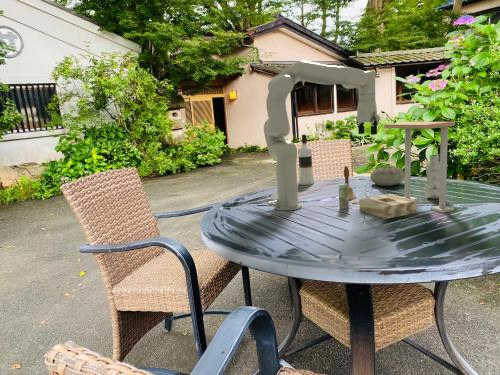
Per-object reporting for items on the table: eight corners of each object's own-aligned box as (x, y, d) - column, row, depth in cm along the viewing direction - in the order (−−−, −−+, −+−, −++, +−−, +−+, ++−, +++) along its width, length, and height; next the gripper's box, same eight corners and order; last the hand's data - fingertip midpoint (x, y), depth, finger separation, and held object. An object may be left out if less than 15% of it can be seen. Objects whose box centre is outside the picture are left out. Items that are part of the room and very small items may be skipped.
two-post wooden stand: (426, 215, 144) (427, 124, 137) (383, 202, 168) (382, 124, 161) (454, 210, 148) (457, 121, 141) (408, 197, 172) (408, 121, 165)
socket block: (383, 219, 144) (383, 207, 143) (359, 210, 159) (359, 199, 158) (416, 212, 148) (416, 201, 147) (390, 204, 163) (390, 193, 162)
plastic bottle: (443, 199, 164) (444, 155, 160) (427, 200, 166) (428, 156, 162) (439, 196, 170) (440, 153, 166) (423, 196, 172) (424, 154, 168)
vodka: (296, 183, 226) (294, 134, 220) (310, 181, 228) (308, 133, 222) (302, 186, 217) (299, 135, 211) (316, 184, 219) (314, 134, 213)
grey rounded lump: (364, 184, 210) (364, 166, 208) (390, 180, 215) (390, 163, 213) (384, 189, 193) (384, 170, 191) (412, 185, 198) (412, 166, 196)
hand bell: (352, 200, 176) (351, 167, 173) (336, 199, 181) (335, 167, 178) (358, 196, 182) (358, 165, 179) (342, 195, 187) (342, 164, 184)
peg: (342, 210, 161) (341, 185, 159) (337, 208, 165) (336, 184, 162) (350, 208, 162) (349, 184, 160) (345, 206, 166) (344, 183, 164)
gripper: (349, 99, 182) (350, 134, 185) (371, 97, 165) (372, 135, 169) (362, 98, 184) (363, 133, 187) (385, 96, 168) (385, 134, 171)
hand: (367, 134), depth 178 cm, fingers open, 9 cm apart
